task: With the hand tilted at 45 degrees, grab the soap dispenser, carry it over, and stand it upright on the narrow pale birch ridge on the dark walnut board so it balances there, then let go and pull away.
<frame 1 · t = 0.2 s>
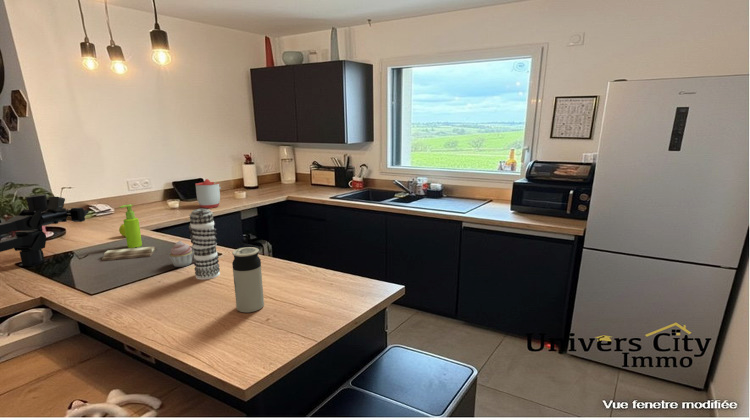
hand: (79, 211, 176), 17 cm above the worktop, tool horizontal, fingers open, 9 cm apart
soap dispenser: (133, 246, 177), on the worktop
travel mug: (250, 307, 115), on the worktop
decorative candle: (208, 275, 141), on the worktop
ornament: (128, 236, 195), on the worktop
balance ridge: (130, 254, 165), on the worktop
cupcake: (182, 265, 153), on the worktop
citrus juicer: (210, 207, 269), on the worktop
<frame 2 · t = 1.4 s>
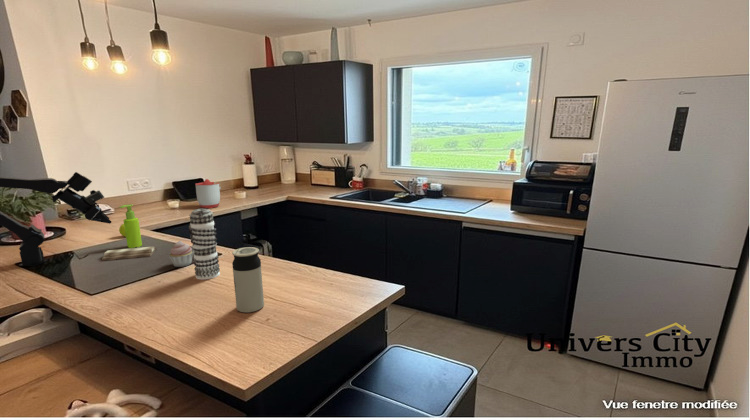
hand: (109, 220, 170), 14 cm above the worktop, tool tilted 45°, fingers open, 9 cm apart
nothing on the worktop moved.
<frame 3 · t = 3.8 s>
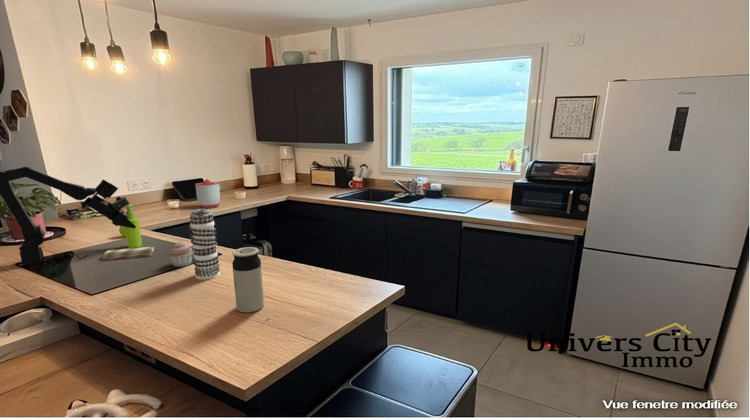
hand: (134, 226, 176), 10 cm above the worktop, tool tilted 45°, fingers open, 6 cm apart
soap dispenser: (133, 246, 177), on the worktop, touching gripper
everything else where it was.
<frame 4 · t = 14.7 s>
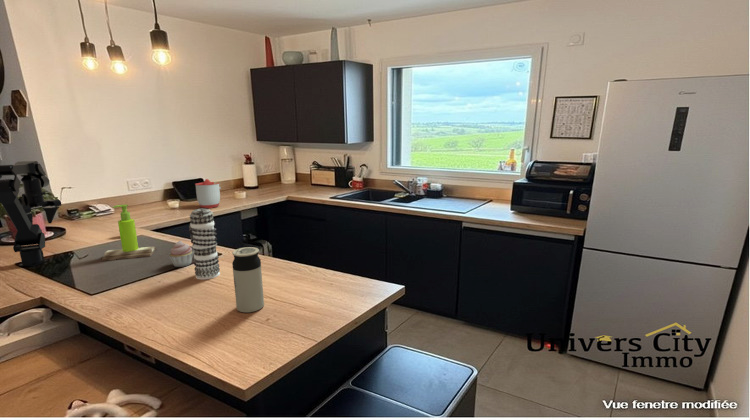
hand: (40, 225, 165), 13 cm above the worktop, tool pointing down, fingers open, 9 cm apart
soap dispenser: (129, 250, 164), point 2 cm above the worktop, touching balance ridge
everything else where it was.
at the end: soap dispenser inside the target area on the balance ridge (0.2 cm from its centre), point 2.2 cm above the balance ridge's base; soap dispenser tilted 0°; the gripper is holding nothing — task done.
